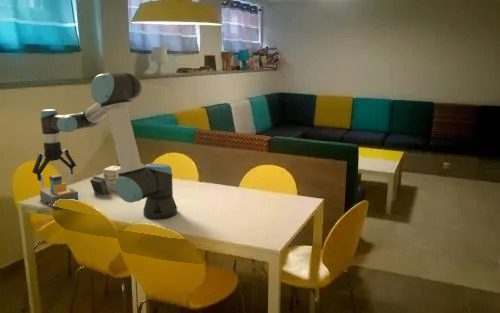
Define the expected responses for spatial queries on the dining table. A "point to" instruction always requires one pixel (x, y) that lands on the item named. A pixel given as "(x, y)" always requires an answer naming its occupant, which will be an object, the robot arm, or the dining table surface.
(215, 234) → the dining table surface
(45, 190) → the socket
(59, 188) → the panel
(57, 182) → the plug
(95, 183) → the electrical switch
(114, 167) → the ink box
